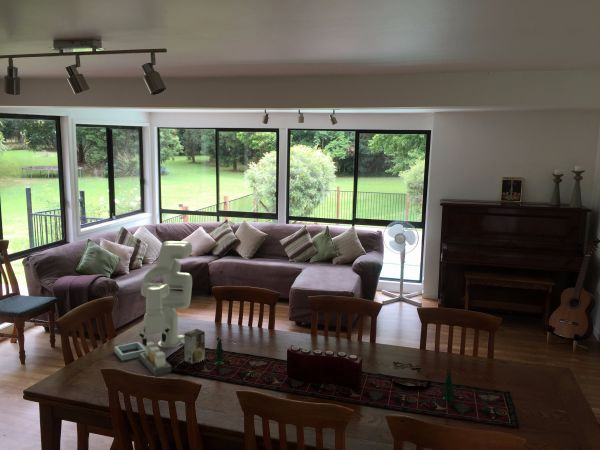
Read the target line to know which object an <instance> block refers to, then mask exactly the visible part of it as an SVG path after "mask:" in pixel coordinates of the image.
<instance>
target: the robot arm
mask: <svg viewBox="0 0 600 450" xmlns="http://www.w3.org/2000/svg"><path fill="white" fill-rule="evenodd" d="M192 252H193V245H192V243H191V242H190V241H180V240H179V241H178V240H177V241H175V240H166V241H164V242H162V244H161V247H160V249H159V253H158V256H157V260H156V264H155V266H153V267H152V268H150V269H149V270H148V271H147V272H146V274H145V275H144V277H143V280H142V282H141V288H140V294H141V296H143V297H144V298H145V311H146V312H145V313H144V316H143V323H142V326H141V327H140V328H138V329H137V330H136V332H137V334H138V335H139V337H141V338H142V340H141V341H142V343H141V344H142V345H143V346H144V347H145V346H147V341H148V340H147V337H148V336H149V335H153V334H160V340H159V341H158V342H157V345H158V346H159V347H161V348H173V347H177V346H180V345H181V343H182V342H181V341H182V340H184V335H182V334H179V324H178V323H179V316H178V315H179V314H178V311H177V310H176V309H188V308H189V306H190V305H191V299H192V298H191V297H192V288H193V276H192V274H190V273H189V272H181V267H182V265H181V262H180V260H185V259H187V258H189V257H190V256H191V254H192ZM161 276H164V277H163V282H152V281H153V280H154V279H156V278H158V277H161ZM180 290H182V291H180ZM142 332H143V333H142Z"/></svg>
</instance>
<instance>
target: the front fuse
mask: <svg viewBox="0 0 600 450" xmlns="http://www.w3.org/2000/svg"><path fill="white" fill-rule="evenodd" d="M165 360H166V353H165V352H164V351H162V350H160V352H157V353H155V367H156V368H159V367H164V366H165Z"/></svg>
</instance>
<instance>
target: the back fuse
mask: <svg viewBox="0 0 600 450" xmlns="http://www.w3.org/2000/svg"><path fill="white" fill-rule="evenodd" d="M144 347H145V356H146V357H150V351H149V348H151V347H156V346H155V343H154V342H153V341H148V342H147V346H144Z"/></svg>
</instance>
